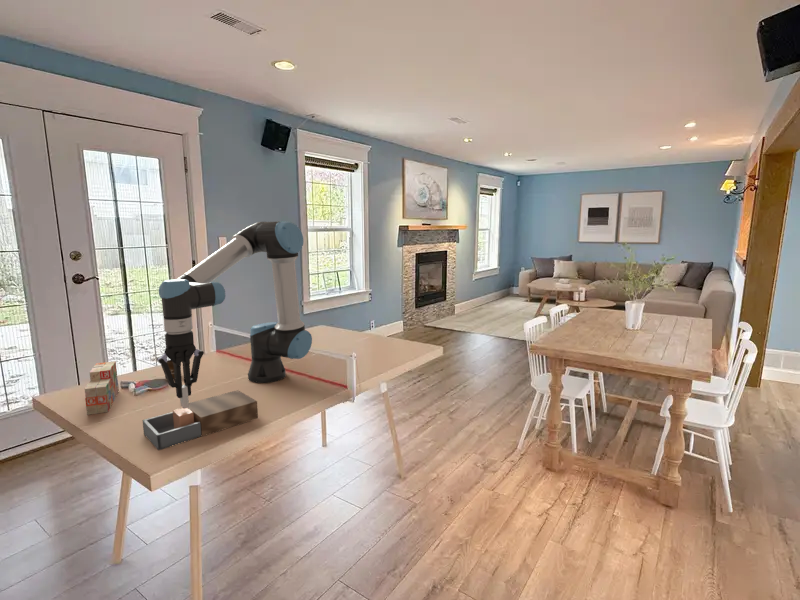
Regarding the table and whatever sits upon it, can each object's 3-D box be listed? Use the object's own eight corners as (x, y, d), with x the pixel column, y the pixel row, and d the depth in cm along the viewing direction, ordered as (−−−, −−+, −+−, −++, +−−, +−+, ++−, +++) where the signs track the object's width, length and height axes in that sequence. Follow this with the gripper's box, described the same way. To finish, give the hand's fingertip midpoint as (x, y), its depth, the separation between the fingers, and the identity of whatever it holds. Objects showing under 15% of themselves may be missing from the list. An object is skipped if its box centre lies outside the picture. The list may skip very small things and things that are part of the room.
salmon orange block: (186, 406, 136) (172, 410, 133) (193, 412, 132) (179, 416, 129) (187, 424, 137) (174, 428, 134) (194, 430, 133) (180, 435, 130)
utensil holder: (162, 377, 182) (159, 350, 180) (176, 373, 187) (174, 346, 185) (169, 380, 179) (167, 352, 177) (184, 376, 184) (182, 348, 182)
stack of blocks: (108, 412, 148) (105, 377, 146) (86, 415, 145) (82, 380, 143) (119, 391, 167) (115, 360, 165) (99, 393, 164) (96, 362, 162)
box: (184, 422, 140) (183, 408, 139) (201, 436, 130) (200, 422, 130) (143, 433, 132) (142, 420, 131) (158, 450, 122) (157, 435, 121)
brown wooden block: (239, 406, 153) (238, 390, 152) (258, 418, 143) (257, 401, 142) (185, 421, 140) (183, 404, 139) (202, 436, 130) (200, 417, 129)
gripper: (158, 337, 122) (165, 416, 126) (206, 330, 131) (211, 404, 135) (150, 332, 127) (157, 409, 131) (196, 326, 136) (201, 397, 140)
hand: (184, 406), depth 133 cm, fingers closed
